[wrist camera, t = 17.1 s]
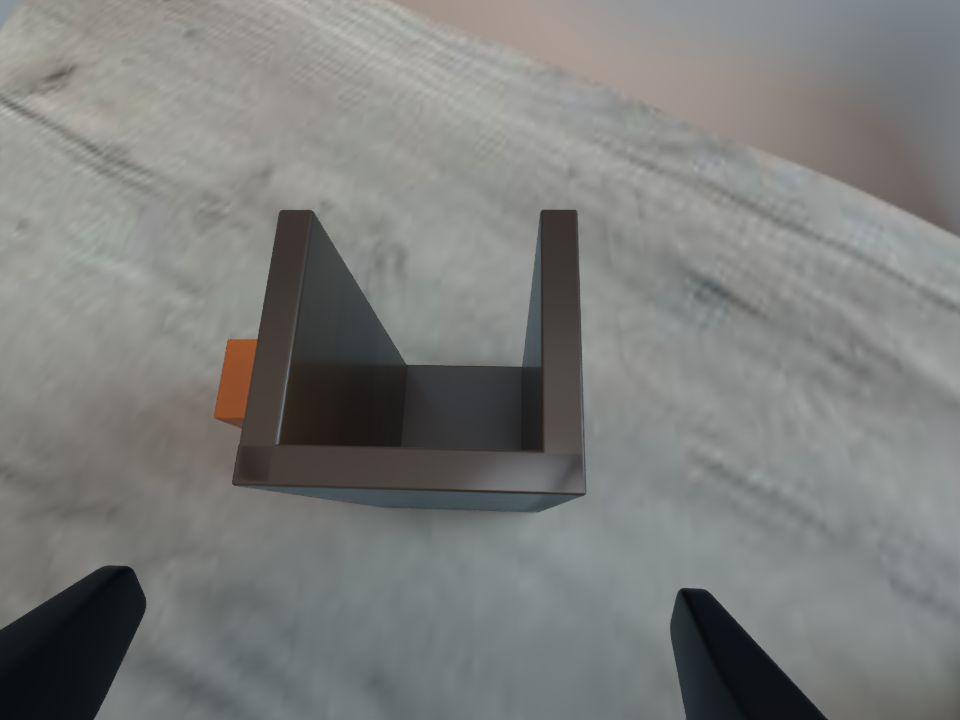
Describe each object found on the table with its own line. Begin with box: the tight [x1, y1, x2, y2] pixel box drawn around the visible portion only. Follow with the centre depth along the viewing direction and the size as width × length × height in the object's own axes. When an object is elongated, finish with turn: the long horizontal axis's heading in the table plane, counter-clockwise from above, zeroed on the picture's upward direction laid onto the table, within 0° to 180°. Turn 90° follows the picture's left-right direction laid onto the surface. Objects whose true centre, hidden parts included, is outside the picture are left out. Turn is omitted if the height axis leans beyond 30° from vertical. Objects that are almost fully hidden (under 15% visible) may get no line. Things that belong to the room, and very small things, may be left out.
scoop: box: [232, 210, 586, 512], centre depth 16 cm, size 6×7×12 cm
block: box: [214, 339, 257, 428], centre depth 21 cm, size 3×3×5 cm
